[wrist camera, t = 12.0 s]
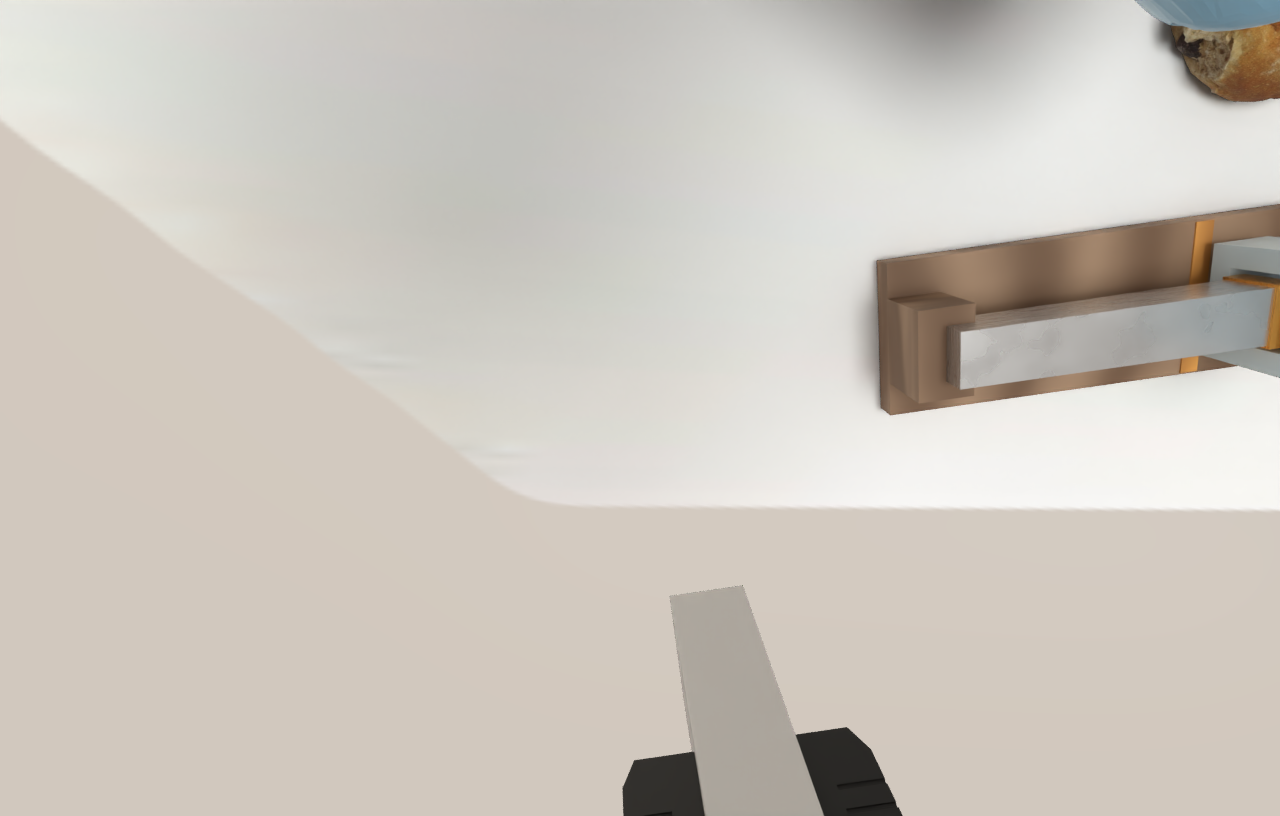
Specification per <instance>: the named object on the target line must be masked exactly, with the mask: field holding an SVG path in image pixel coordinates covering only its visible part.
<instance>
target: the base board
mask: <svg viewBox="0 0 1280 816" xmlns="http://www.w3.org/2000/svg"><path fill="white" fill-rule="evenodd" d="M1265 236H1272V237H1280V204H1277V205H1270V206H1263V207H1256V208H1249V209H1242V210H1235V211H1227V212H1220V213H1213V214H1206V215H1199V216H1192V217H1185V218H1177V219H1170V220H1163V221H1156V222H1149V223H1142V224H1135V225H1127V226H1120V227H1113V228H1106V229H1099V230H1092V231H1085V232H1078V233H1070V234H1063V235H1056V236H1049V237H1042V238H1035V239H1028V240H1020V241H1013V242H1006V243H999V244H992V245H985V246H978V247H970V248H963V249H956V250H949V251H942V252H935V253H928V254H920V255H913V256H906V257H899V258H892V259H885V260H878V261H877V281H878V318H879V355H880V392H881V408H882V409H883V410H884V411H886V412H887V413H888V414H889V415H896V414H903V413H910V412H917V411H924V410H931V409H938V408H945V407H952V406H959V405H966V404H973V403H980V402H987V401H994V400H1001V399H1008V398H1015V397H1022V396H1029V395H1037V394H1044V393H1051V392H1058V391H1065V390H1072V389H1079V388H1086V387H1093V386H1100V385H1107V384H1114V383H1121V382H1128V381H1135V380H1142V379H1149V378H1156V377H1163V376H1170V375H1177V374H1184V373H1191V372H1198V371H1205V370H1212V369H1219V368H1226V367H1233V366H1237V365H1234V364H1230V363H1227V362H1223V361H1220V360H1216V359H1213V358H1209V357H1206V356H1202V355H1201V356H1194V357H1187V358H1180V359H1173V360H1166V361H1159V362H1152V363H1145V364H1138V365H1130V366H1123V367H1116V368H1109V369H1102V370H1095V371H1088V372H1081V373H1074V374H1067V375H1060V376H1053V377H1046V378H1039V379H1032V380H1025V381H1018V382H1011V383H1004V384H997V385H990V386H983V387H976V388H969V389H962V390H960V389H958V388H957V387H955V386H953V385H951V384H950V383H948V382H947V326H953V325H960V324H967V323H974V322H975V317H976V315H979V314H986V313H993V312H1000V311H1008V310H1015V309H1022V308H1029V307H1036V306H1043V305H1050V304H1057V303H1064V302H1071V301H1078V300H1085V299H1093V298H1100V297H1107V296H1114V295H1121V294H1128V293H1135V292H1142V291H1149V290H1156V289H1163V288H1171V287H1178V286H1185V285H1192V284H1199V283H1206V282H1210V275H1211V266H1212V258H1213V250H1214V244H1215V243H1222V242H1229V241H1236V240H1243V239H1250V238H1258V237H1265Z"/></svg>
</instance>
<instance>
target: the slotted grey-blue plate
mask: <svg viewBox="0 0 1280 816" xmlns="http://www.w3.org/2000/svg"><path fill="white" fill-rule="evenodd" d="M1270 273H1272V274H1279V275H1280V237H1272V236H1265V237H1258V238H1250V239H1243V240H1236V241H1229V242H1222V243H1215V244H1214V250H1213V258H1212V266H1211V275H1210V282H1213V281H1220V280H1223V277H1224V276H1231V275H1239V274H1251V275H1263V274H1270ZM1202 356H1206V357H1209V358H1213V359H1216V360H1220V361H1223V362H1227V363H1230V364H1234V365H1237V366H1241V367H1244V368H1248V369H1251V370H1254V371H1258V372H1261V373H1265V374H1268V375H1272V376H1275V377H1279V378H1280V348H1277V349H1270V350H1269V349H1265V348H1261V347H1257V348H1250V349H1243V350H1236V351H1229V352H1222V353H1215V354H1208V355H1202Z"/></svg>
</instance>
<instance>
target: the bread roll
mask: <svg viewBox="0 0 1280 816" xmlns="http://www.w3.org/2000/svg"><path fill="white" fill-rule="evenodd" d="M1171 30H1172V33H1173V36H1174V38H1175V43H1176V48H1177V49H1178V50H1179V51H1180V52H1181V53H1182V55H1183V57H1184V60H1185V62H1186V64H1187V66H1188V68H1189V70H1190V72H1191V73H1192V74H1193V75H1194V76H1195V77H1197V78H1198V79H1199V80H1200V81H1201V82H1202V83H1204V84H1205V85H1207V86H1208V87H1209V88H1210V89H1211V92H1212V93H1216V94H1217V95H1219V96H1221V97H1223V98H1225V99H1227V100H1231V101H1234V102H1236V101H1240V102H1256V101H1263V100H1266V99H1269V98H1272V99H1278V98H1280V22H1276V23H1271V24H1267V25H1262V26H1258V27H1253V28H1246V29H1240V30H1231V31H1218V32H1210V31H1202V30H1193V29H1190V28H1187V27H1184V26H1172V25H1171Z"/></svg>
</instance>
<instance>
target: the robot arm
mask: <svg viewBox="0 0 1280 816" xmlns="http://www.w3.org/2000/svg"><path fill="white" fill-rule="evenodd" d="M1135 1H1136V2H1137V3H1138V4H1139V5H1140V6H1141V7H1142V8H1143V9H1144V10H1145V11H1146V12H1148V13H1149V14H1150V15H1151V16H1153V17H1154V18H1156V19H1158V20H1160V21H1162V22H1164V23H1166V24H1168V25H1172V26H1184V27H1187V28H1190V29H1193V30H1202V31H1210V32H1218V31H1231V30H1240V29H1246V28H1253V27H1258V26H1262V25H1267V24H1271V23H1276V22H1280V0H1135ZM670 603H671V610H672V617H673V624H674V631H675V639H676V646H677V654H678V660H679V668H680V676H681V683H682V690H683V698H684V705H685V711H686V718H687V724H688V730H689V736H690V743H691V749H692V752H689V753H682V754H676V755H669V756H662V757H655V758H648V759H641V760H634V762H633V765H632V767H631V770H630V772H629V774H628V777H627V779H626V782H625V784H624V786H623V813H624V816H902V814H901V811H900V809H899V808H897V806H896V801H895V799H894V797H893V795H892V793H891V790H890V788H889V786H888V784H886V782H885V778H884V776H883V774H882V772H881V770H880V767H879V765H878V763H877V761H876V759H875V757H874V755H873V753H872V751H871V749H870V748H869V747H868V746H867V745H866V744H865V743H863V742H862V741H861V740H860V739H859V738H858V737H857V736H856V735H855V734H854V733H853V732H851V731H850V730H849V729H848V728H847V727H845V728H838V729H831V730H825V731H818V732H811V733H805V734H797V735H795V732H794V729H793V727H792V724H791V721H790V718H789V715H788V712H787V710H786V707H785V704H784V701H783V698H782V695H781V692H780V690H779V687H778V684H777V681H776V678H775V675H774V673H773V670H772V667H771V664H770V661H769V658H768V655H767V653H766V650H765V647H764V644H763V641H762V639H761V636H760V633H759V630H758V627H757V624H756V622H755V619H754V616H753V613H752V610H751V607H750V605H749V601H748V599H747V596H746V593H745V590H744V587H743V585H742V586H735V587H728V588H722V589H714V590H707V591H700V592H693V593H687V594H680V595H674V596H670Z"/></svg>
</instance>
